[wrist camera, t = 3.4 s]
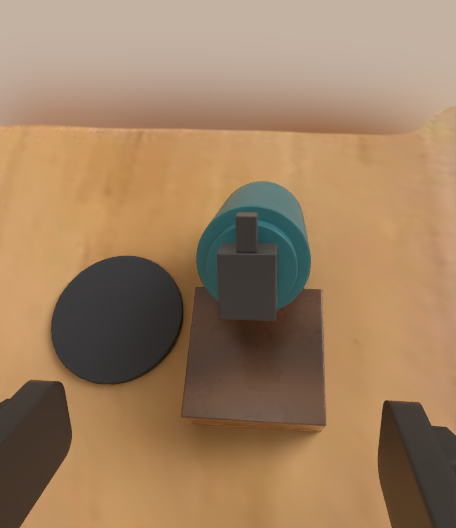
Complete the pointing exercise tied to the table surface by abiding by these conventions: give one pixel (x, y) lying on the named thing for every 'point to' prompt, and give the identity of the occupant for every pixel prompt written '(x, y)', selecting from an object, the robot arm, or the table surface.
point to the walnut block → (257, 367)
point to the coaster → (117, 320)
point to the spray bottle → (255, 253)
